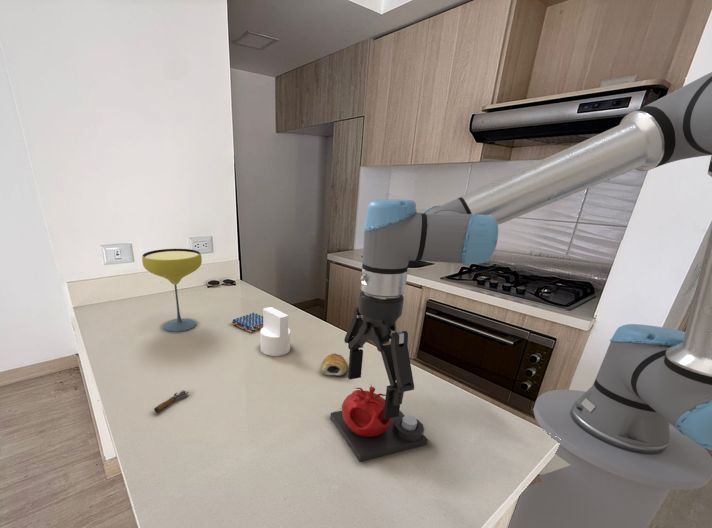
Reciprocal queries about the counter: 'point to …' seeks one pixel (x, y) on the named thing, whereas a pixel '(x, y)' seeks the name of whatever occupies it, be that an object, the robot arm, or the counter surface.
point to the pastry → (334, 365)
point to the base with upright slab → (274, 333)
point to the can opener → (170, 401)
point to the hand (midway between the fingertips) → (371, 395)
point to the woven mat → (249, 322)
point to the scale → (380, 438)
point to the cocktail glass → (173, 275)
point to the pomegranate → (365, 413)
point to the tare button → (409, 423)
